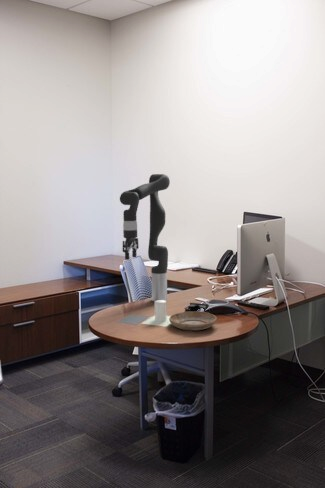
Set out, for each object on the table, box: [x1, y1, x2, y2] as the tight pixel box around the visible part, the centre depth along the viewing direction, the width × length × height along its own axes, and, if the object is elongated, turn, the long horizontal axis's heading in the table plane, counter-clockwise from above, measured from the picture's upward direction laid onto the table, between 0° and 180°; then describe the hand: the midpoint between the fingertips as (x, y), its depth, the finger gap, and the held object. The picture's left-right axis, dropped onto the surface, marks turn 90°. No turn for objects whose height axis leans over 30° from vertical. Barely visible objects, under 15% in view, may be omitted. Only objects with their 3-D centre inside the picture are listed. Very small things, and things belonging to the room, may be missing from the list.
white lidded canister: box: [154, 300, 168, 322], centre depth 266 cm, size 6×6×10 cm
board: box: [140, 314, 172, 328], centre depth 267 cm, size 18×14×1 cm
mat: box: [115, 313, 151, 326], centre depth 269 cm, size 16×12×1 cm
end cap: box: [187, 302, 210, 313], centre depth 275 cm, size 10×7×7 cm
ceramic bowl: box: [169, 311, 217, 331], centre depth 256 cm, size 23×24×5 cm
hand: (130, 258), depth 281 cm, fingers open, 8 cm apart
